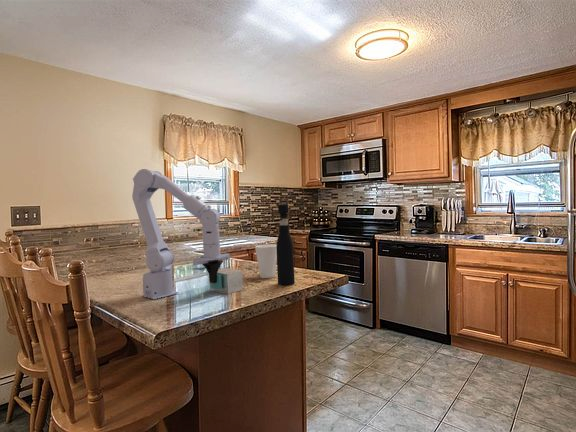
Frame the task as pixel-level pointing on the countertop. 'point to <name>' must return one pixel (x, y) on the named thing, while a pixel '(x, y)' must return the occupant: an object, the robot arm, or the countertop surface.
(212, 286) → the shaft
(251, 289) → the countertop surface
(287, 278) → the wine bottle
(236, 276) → the block
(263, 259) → the foam cup
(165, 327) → the countertop surface
